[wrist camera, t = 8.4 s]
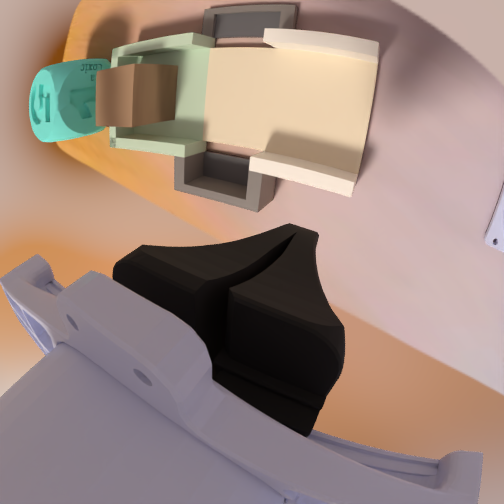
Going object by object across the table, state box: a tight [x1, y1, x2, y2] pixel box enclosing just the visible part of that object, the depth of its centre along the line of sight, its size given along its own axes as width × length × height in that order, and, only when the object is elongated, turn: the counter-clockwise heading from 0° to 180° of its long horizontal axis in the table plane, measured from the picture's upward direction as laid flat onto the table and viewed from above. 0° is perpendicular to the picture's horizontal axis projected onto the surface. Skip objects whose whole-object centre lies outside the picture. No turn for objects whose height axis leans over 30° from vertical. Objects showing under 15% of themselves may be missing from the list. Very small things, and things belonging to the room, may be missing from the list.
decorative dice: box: [29, 59, 111, 142], centre depth 21 cm, size 8×8×8 cm
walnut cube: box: [96, 64, 178, 127], centre depth 19 cm, size 5×5×5 cm
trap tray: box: [109, 4, 379, 212], centre depth 18 cm, size 22×16×3 cm
